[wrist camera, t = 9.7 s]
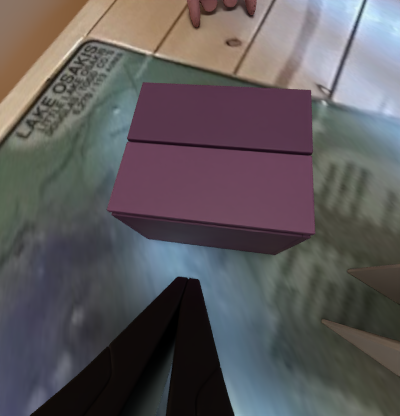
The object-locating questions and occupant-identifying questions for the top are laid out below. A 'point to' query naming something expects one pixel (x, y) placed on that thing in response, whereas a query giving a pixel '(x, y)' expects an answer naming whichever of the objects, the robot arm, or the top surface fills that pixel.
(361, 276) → the brochure
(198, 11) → the video game controller
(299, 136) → the file box
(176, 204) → the flap
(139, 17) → the top surface
